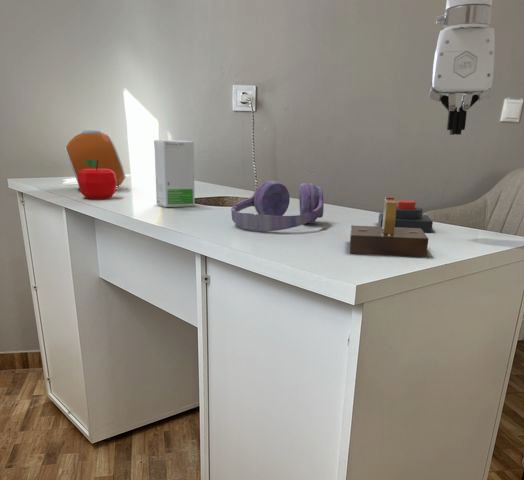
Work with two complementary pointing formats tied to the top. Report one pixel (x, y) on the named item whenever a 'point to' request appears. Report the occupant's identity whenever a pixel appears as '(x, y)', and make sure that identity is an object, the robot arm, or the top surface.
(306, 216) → the headphones
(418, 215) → the block
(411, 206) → the bell button
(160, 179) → the cosmetic box
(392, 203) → the lock knob
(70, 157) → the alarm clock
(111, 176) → the apple
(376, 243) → the plate
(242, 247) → the top surface
